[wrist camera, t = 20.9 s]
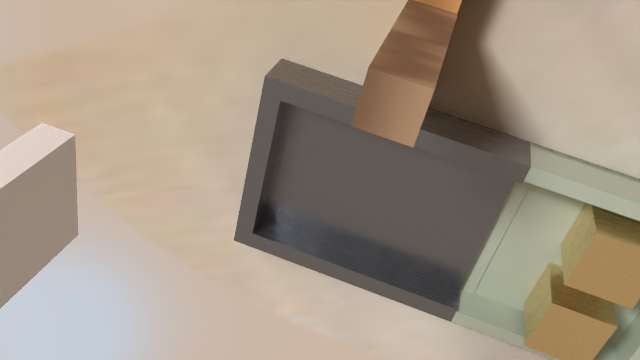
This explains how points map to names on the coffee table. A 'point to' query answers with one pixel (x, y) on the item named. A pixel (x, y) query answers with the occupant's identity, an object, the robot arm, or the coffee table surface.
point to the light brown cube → (603, 255)
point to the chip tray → (544, 247)
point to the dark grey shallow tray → (372, 191)
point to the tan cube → (566, 318)
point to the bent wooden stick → (406, 71)
